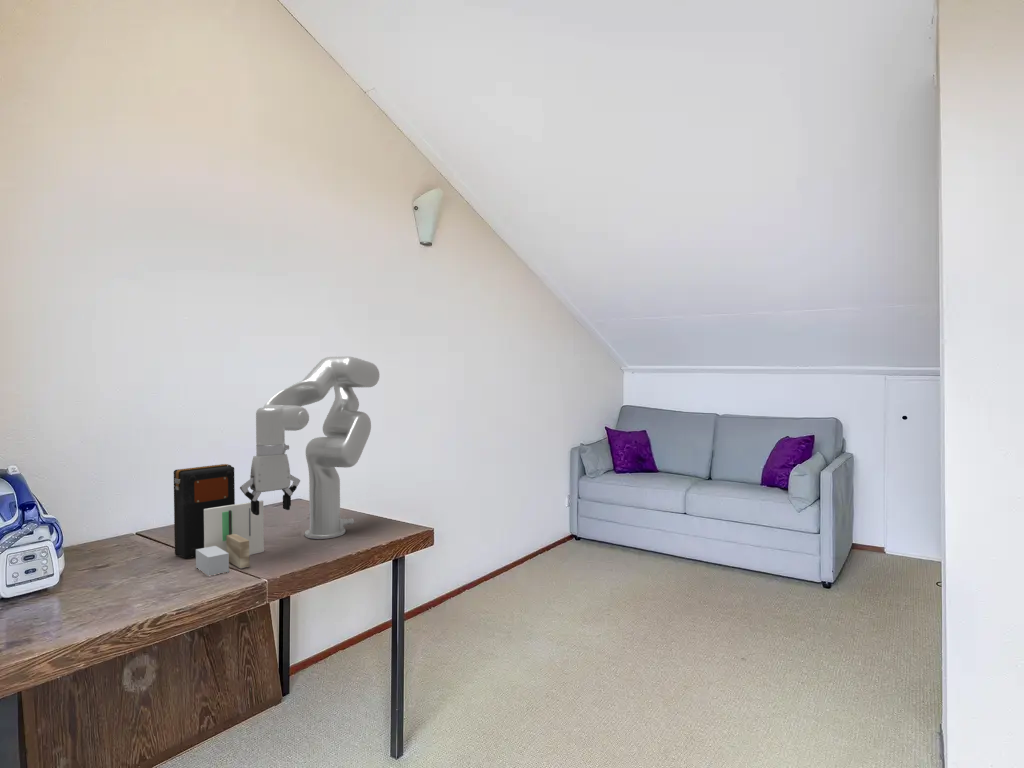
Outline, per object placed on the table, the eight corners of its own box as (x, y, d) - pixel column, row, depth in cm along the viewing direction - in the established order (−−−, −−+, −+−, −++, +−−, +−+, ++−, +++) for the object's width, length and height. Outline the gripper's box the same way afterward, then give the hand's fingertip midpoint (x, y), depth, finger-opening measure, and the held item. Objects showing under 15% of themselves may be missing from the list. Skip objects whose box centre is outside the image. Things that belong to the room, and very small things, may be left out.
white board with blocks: (262, 551, 178) (261, 500, 177) (281, 560, 169) (280, 507, 168) (192, 565, 164) (191, 510, 164) (208, 576, 155) (207, 518, 155)
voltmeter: (225, 543, 186) (224, 462, 186) (239, 548, 181) (238, 465, 180) (171, 555, 174) (170, 469, 174) (184, 561, 168) (183, 471, 168)
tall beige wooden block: (234, 557, 170) (233, 509, 170) (249, 566, 162) (248, 515, 162) (225, 559, 168) (225, 510, 168) (240, 568, 161) (239, 517, 161)
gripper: (294, 446, 180) (295, 505, 180) (234, 452, 168) (234, 514, 168) (305, 449, 175) (306, 509, 175) (244, 454, 163) (245, 519, 163)
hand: (271, 511), depth 172 cm, fingers open, 8 cm apart
